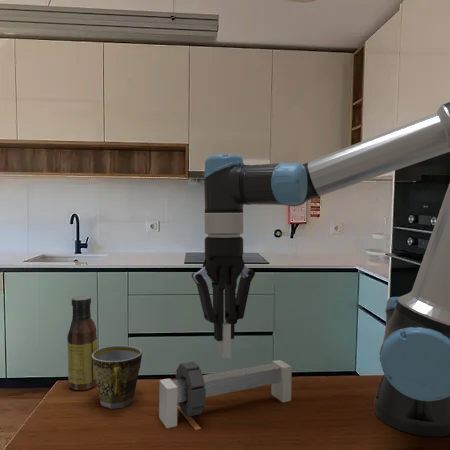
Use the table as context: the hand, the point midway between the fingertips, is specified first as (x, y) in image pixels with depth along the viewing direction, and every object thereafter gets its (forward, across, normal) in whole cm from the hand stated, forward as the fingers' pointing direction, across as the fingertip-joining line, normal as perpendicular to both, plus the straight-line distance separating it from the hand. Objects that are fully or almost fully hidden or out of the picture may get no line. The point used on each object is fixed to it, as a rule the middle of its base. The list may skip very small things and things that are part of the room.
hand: (224, 356), depth 83 cm
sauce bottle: (+10, +23, -24) cm, 35 cm away
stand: (+11, -1, -1) cm, 11 cm away
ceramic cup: (+11, +18, -12) cm, 24 cm away
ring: (+11, +7, -1) cm, 13 cm away
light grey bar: (+7, -1, -1) cm, 7 cm away
